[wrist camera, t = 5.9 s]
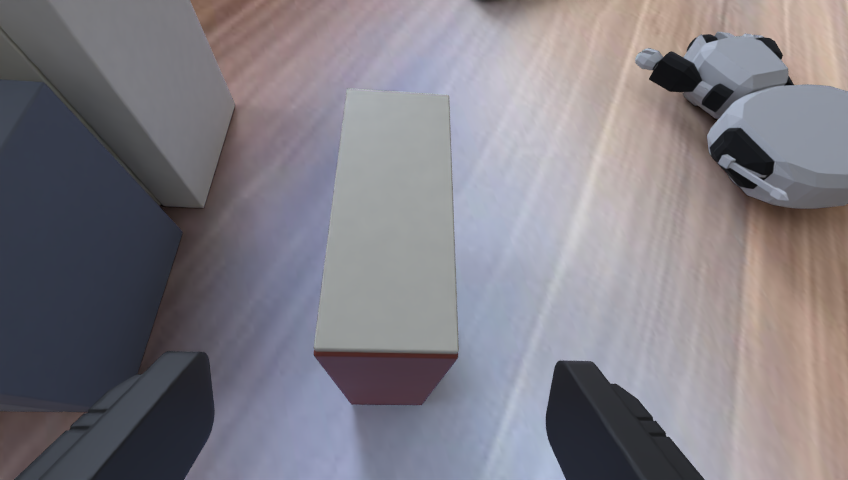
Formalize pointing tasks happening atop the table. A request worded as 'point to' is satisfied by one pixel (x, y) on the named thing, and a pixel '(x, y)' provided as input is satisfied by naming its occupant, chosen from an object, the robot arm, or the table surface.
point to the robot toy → (762, 119)
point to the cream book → (390, 251)
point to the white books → (129, 84)
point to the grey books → (71, 258)
